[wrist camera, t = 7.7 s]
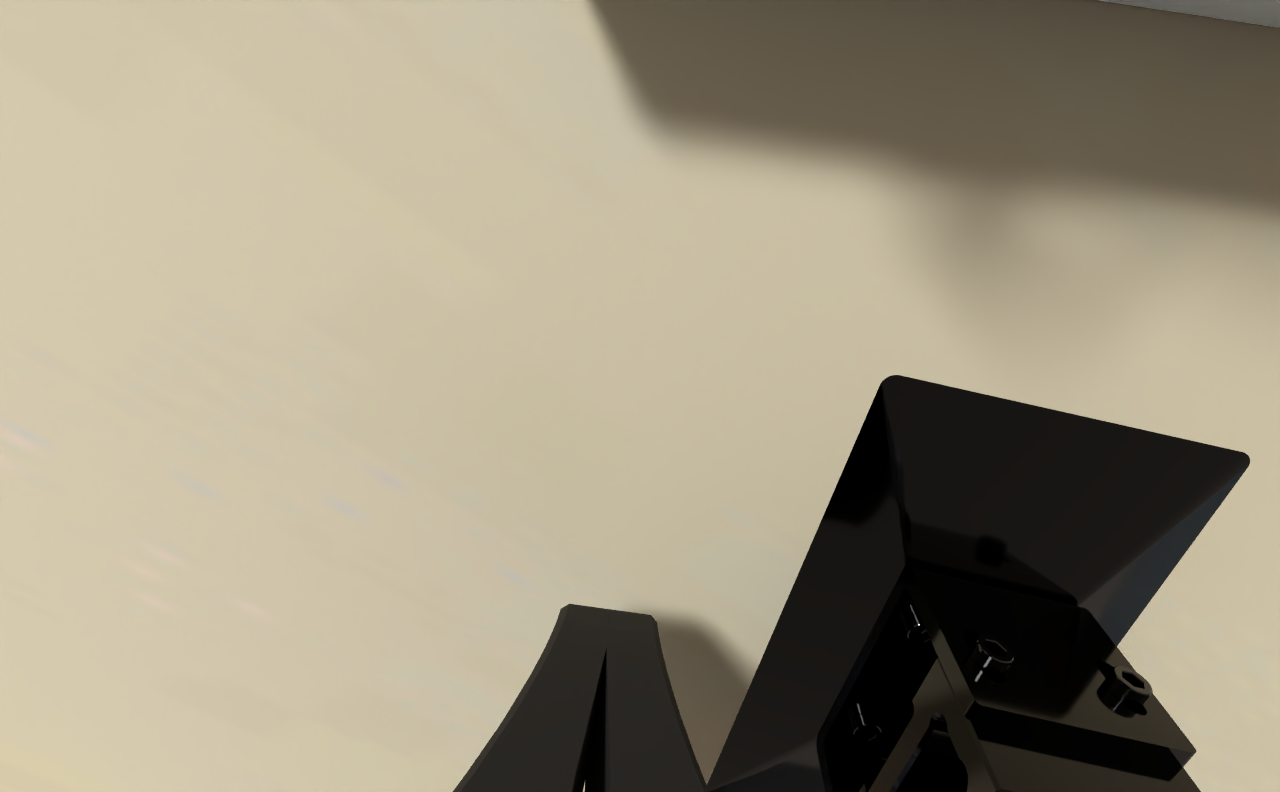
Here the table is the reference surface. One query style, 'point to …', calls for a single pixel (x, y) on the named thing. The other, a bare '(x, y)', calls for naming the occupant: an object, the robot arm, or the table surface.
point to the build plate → (979, 607)
